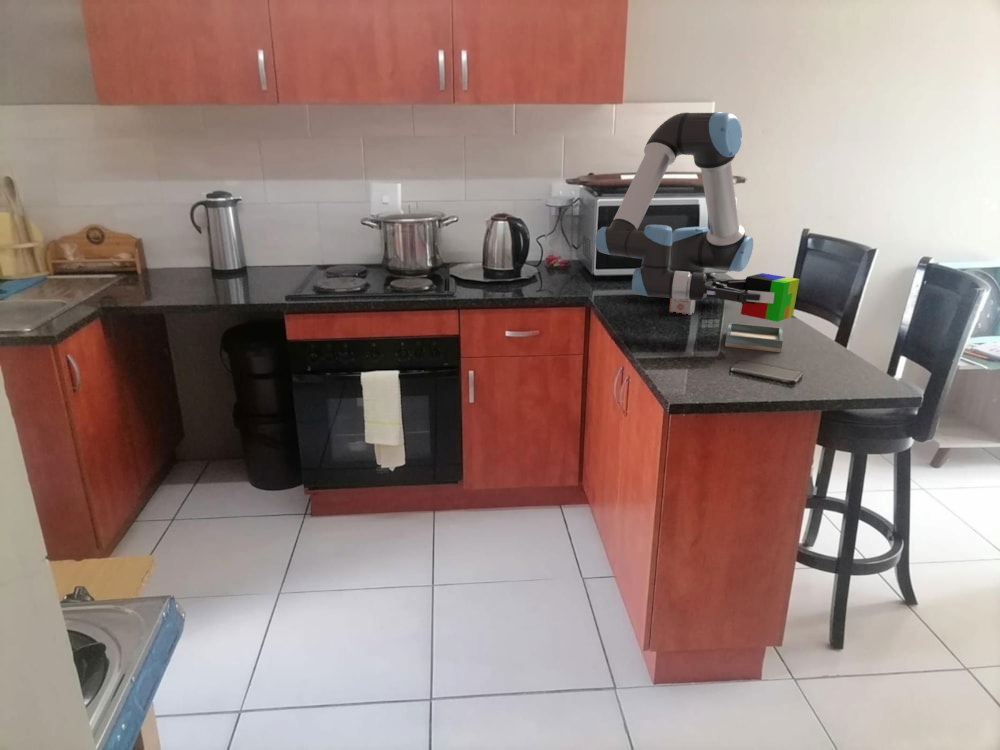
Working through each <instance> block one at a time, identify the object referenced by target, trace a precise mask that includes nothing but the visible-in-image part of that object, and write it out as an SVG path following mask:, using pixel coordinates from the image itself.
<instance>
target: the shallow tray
mask: <svg viewBox="0 0 1000 750" xmlns="http://www.w3.org/2000/svg"><path fill="white" fill-rule="evenodd" d="M783 339H784V338H783V327H782V326H769V325H759V324H750V323H749V324H748V323H739V322H728V327H727V330H726V334H725V342H724V347H726V348H738V349H747V350H757V351H765V352H766V351H767V352H775V353H776V352H777V353H782V347H783V342H784V341H783Z"/></svg>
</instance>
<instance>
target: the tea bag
mask: <svg viewBox="0 0 1000 750" xmlns="http://www.w3.org/2000/svg"><path fill="white" fill-rule="evenodd" d="M695 309H696V300H690V299H689V297H688V298H687V299H680V300H679V301H677V300H676V298H669V310H668V312H669V313H673V312H676V313H675V314H679V313H682V314H681V315H686V314H688V315H687V316H691V315H693V314H694V313H695ZM692 313H693V314H692Z"/></svg>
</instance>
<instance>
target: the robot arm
mask: <svg viewBox="0 0 1000 750" xmlns="http://www.w3.org/2000/svg"><path fill="white" fill-rule="evenodd" d="M742 133H743V132H742V126H741V123H740V121H739V118H738V117H737V116H736V115H734V114H733V113H730V112H721V111H715V112H680V113H677V114H675V115H673V116H671V117H669V118H667V119H666V120H665V121H664V122H663V123H661V125H659V126H658V127H657V128H656V129H655V130H654V132H653V133H652V134H651V136H650V137H649V139H648V140H647V143H646V144H645V146H644V148H643V153H644V156H643V158H642V160H641V162H640V164H639V167H638V169H637V171H636V172H635V174H634V176H633V179H632V180H631V182H630V184H629V186H628V190H627V191H626V193H625V195H624V197H623V199H622V202H621V204H620V206H619V207H618V210H617V212H616V214H615V216H613V217H614V218H613V219H612V221H611V224H610V225H609V226H601V228H600V229H598V230H597V232H596V234H595V238H594V241H595V242H594V244H595V248H596V250H597V251H598V252H599V253H601V254H606V255H609V256H617V257H619V256H620V257H627V258H633V259H641V266H640V267H636V268H635V269H634V271H633V274H632V280H631V289H632V293H633V294H635V295H639V296H645V297H648V298H649V297H650V298H653V297H654V298H667V299H670V298H676V300H677V301H679V300H680V299H687V298H688V297H689V299H690V300H695V302H696V301H697V302H698V301H699V302H703V301H704V299H706V298H713V299H714V298H715V299H719V300H724V301H731V302H736V303H739V304H740V303H741V305H742V304H746V301H750V302H761V303H772V304H773V301H774V294H775V293H774V292H762V291H750V290H748V292H747V291H745V284H746V278H742V279H740V278H739V279H732V278H731V279H730V278H729V279H727V278H726V279H725V278H723V279H722V278H721V279H718V278H711V279H710V281H707V278H708V277H707V274H706V273H705V268H707V269H713V270H719V271H726V272H737V273H738V272H740V273H741V272H742V271H743V270H744V269H746V267H747V265H748V264H749V262H750V259H751V257H752V254H753V249H754V239H753V236H751V235H746V233H745V228H744V226H743V225H742V224H741V223H739V218H738V217H739V216H738V210H737V208H738V207H737V201H736V192H735V185H734V177H733V176H734V175H733V168H732V162H733V161H734V159H735V158H736V156H737V154H738V153H739V151H740V150H741V149H740V148H741V146H742V137H743V134H742ZM682 155H685V156H693V161H694V165H695V166H696V167H697V168H699V169H700V172H701V178H702V184H703V190H704V196H705V197H704V198H705V205H706V211H707V217H708V223H709V227H708V226H690V227H689V226H688V227H687V226H686V227H680V228H676V229H674V230H673V228H672V227H671V226H670V225H665V224H647V225H646V226H645V227H644V230H638V229H639V227H640V225H641V223H642V221H643V219H644V218H645V215H646V213H647V211H648V208H649V206H650V205H651V203H652V200H653V199H654V196H655V194H656V192H657V190H658V188H659V186H660V184H661V182H662V180H663V177H664V175H665V173H666V172H667V169H668V167H669V166H672V165H673V163H675V160H677V159H676V158H677V157H678V156H682Z"/></svg>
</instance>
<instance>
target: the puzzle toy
mask: <svg viewBox="0 0 1000 750" xmlns="http://www.w3.org/2000/svg"><path fill="white" fill-rule="evenodd" d="M745 279H746V284H745V290H744V291H747V292H748V290H750V291H762V292H774V293H775V294H774V301H773V304H772V303H761V302H750V301H746V304H742V303H741V308H740V309H741V310H740V315H741V316H742V315H743V316H747V317H752V318H753V317H754V318H757V319H762V320H766V321H772V322H776V323H777V322H778V323H779V322H781V321H783V320H786V319H790V318H792V317H794V311H795V304H796V300H797V295H798V289H799V283H800V278H794V277H789V276H784V275H783V276H782V275H776V274H769V273H763V272H761V273H758V274H753V275H748V276H746V278H745Z"/></svg>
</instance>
